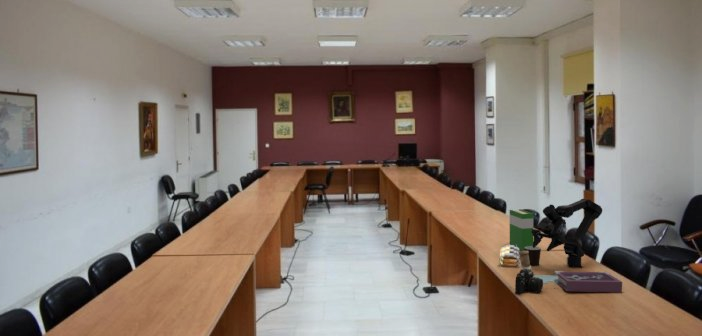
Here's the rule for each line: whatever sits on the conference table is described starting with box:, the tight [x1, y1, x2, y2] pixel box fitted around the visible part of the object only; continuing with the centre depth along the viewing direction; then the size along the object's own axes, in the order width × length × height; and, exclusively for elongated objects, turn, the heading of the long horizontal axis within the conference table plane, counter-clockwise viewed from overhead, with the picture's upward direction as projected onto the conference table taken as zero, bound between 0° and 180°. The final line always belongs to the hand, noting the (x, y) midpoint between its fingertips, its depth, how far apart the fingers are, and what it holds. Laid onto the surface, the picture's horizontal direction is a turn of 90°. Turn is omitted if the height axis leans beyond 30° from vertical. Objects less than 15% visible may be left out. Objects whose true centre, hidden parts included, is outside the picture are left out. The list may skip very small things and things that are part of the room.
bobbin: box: [519, 251, 535, 276], centre depth 264 cm, size 7×7×12 cm
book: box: [554, 270, 623, 293], centre depth 243 cm, size 25×16×5 cm, turn 88°
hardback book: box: [509, 209, 534, 252], centre depth 322 cm, size 18×7×24 cm, turn 7°
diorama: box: [498, 244, 520, 268], centre depth 291 cm, size 25×10×13 cm, turn 161°
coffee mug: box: [524, 246, 542, 267], centre depth 285 cm, size 12×9×10 cm
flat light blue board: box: [533, 274, 558, 285], centre depth 256 cm, size 14×14×1 cm
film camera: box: [514, 268, 544, 295], centre depth 241 cm, size 18×12×10 cm
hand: (540, 249), depth 267 cm, fingers open, 9 cm apart
